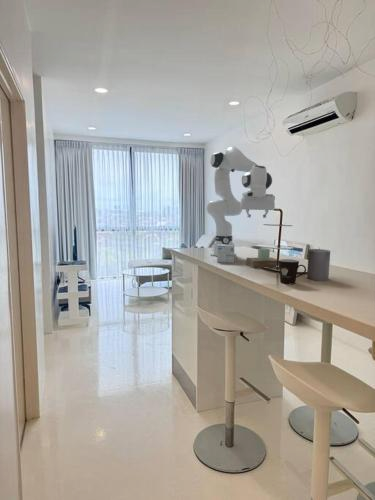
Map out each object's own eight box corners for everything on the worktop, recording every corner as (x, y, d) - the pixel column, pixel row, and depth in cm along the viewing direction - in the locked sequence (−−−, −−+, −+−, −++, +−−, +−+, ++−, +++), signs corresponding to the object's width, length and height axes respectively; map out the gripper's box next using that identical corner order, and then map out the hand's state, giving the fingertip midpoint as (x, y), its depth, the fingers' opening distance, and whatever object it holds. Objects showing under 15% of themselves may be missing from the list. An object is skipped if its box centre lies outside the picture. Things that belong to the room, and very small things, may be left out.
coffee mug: (273, 281, 154) (274, 259, 153) (289, 280, 157) (290, 258, 156) (290, 286, 144) (291, 263, 142) (306, 285, 147) (308, 262, 145)
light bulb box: (233, 261, 215) (234, 244, 214) (234, 262, 209) (234, 245, 208) (216, 260, 217) (217, 244, 215) (216, 262, 210) (217, 245, 209)
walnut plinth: (246, 264, 203) (246, 257, 203) (272, 264, 205) (272, 257, 205) (253, 268, 189) (254, 261, 189) (281, 267, 192) (281, 260, 191)
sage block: (257, 258, 199) (258, 248, 198) (266, 258, 200) (266, 248, 199) (260, 259, 194) (261, 249, 193) (269, 259, 195) (269, 249, 194)
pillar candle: (303, 276, 166) (305, 246, 164) (322, 276, 167) (324, 246, 165) (312, 281, 157) (314, 248, 155) (332, 280, 157) (334, 248, 156)
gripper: (273, 194, 203) (271, 217, 205) (239, 193, 200) (238, 217, 202) (277, 194, 197) (275, 218, 199) (242, 193, 194) (241, 217, 196)
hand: (256, 217), depth 200 cm, fingers open, 8 cm apart
